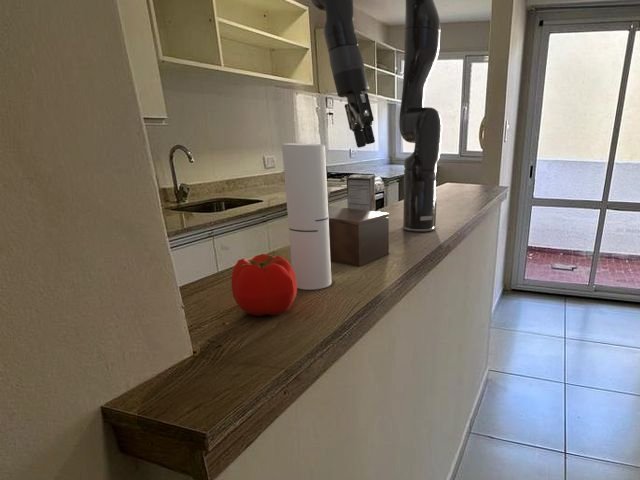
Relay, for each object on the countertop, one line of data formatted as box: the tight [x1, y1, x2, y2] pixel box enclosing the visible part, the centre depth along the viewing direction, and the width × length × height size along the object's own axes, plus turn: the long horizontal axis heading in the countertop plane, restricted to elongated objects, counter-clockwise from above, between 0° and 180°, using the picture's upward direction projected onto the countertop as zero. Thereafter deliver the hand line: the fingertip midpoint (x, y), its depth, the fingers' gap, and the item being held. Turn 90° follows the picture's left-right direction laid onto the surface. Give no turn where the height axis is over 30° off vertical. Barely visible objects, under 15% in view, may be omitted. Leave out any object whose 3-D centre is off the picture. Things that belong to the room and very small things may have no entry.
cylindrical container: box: [281, 142, 333, 291], centre depth 81 cm, size 7×7×25 cm
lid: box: [327, 190, 390, 226], centre depth 101 cm, size 16×13×5 cm
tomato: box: [230, 253, 298, 317], centre depth 71 cm, size 11×11×9 cm
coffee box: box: [346, 174, 376, 212], centre depth 119 cm, size 9×6×16 cm
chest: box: [329, 217, 390, 267], centre depth 104 cm, size 16×13×9 cm
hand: (365, 145), depth 108 cm, fingers open, 8 cm apart
